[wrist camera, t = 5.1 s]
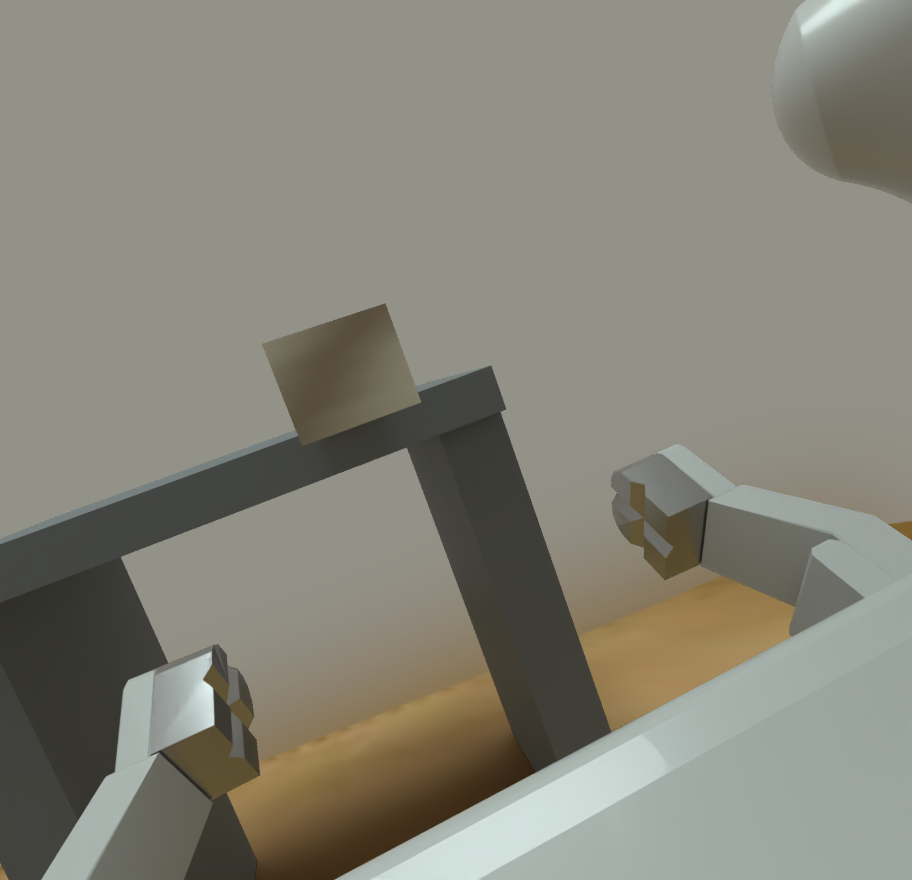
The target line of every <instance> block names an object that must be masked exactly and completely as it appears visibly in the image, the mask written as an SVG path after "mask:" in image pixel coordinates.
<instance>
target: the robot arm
mask: <svg viewBox="0 0 912 880" xmlns="http://www.w3.org/2000/svg"><path fill="white" fill-rule="evenodd" d="M772 98H773V106H774V113H775V117H776V120H777V124H778V127H779V129H780V131H781V133H782V135H783V138H784V140H785V141H786V143H787V144H788V146H789V147H790V149H791V150H792V151H793V152H794V153H795V154H796V156H797V157H799V159H800V160H802V161H803V162H804V163H805V164H806V165H808V166H809V167H811V168H812V169H814V170H815V171H817V172H819V173H821V174H823V175H825V176H827V177H830V178H833V179H836V180H839V181H843V182H848V183H854V184H859V185H863V186H867V187H871V188H874V189H878V190H882V191H884V192H887V193H889V194H892V195H895V196H897V197H899V198H901V199H904V200H906V201H908V202H910V203H912V0H806V1H804V3H802V4H801V5H800V6H799V7H798V8H797V9H796V10H795V12H794V14H793V16H792V18H791V20H790V22H789V24H788V26H787V29H786V31H785V34H784V36H783V38H782V41H781V44H780V47H779V50H778V53H777V57H776V62H775V67H774V73H773V83H772ZM611 482H612V483H611V484H612V485H611V486H612V488H613V489H614V490H615V491H616V492H617V494H616V496H615V498H614V500H613V502H612V511H613V516H614V519H615V521H616V524H617V526H618V528H619V529H620V531H621V533H622V534H623V535H624V537H625V538H626V539H627V540H628V541H629V542H630V543H631V544H634V545H637V546H640V547H644V559H645V560H646V561H647V562H648V563H649V564H650V565H651V566H652V567H653V568H654V569H655V570H656V571H657V572H658V573H659V574H660V576H661V577H662V578H663V579H664V580H666V579H669V578H671V577H673V576H675V575H678V574H680V573H682V572H684V571H687V570H689V569H691V568H693V567H696V566H698V565H700V564H701V566H702V567H704V568H706V569H709V570H711V571H713V572H716V573H718V574H720V575H722V576H725V577H727V578H729V579H732V580H734V581H736V582H739V583H741V584H743V585H746V586H748V587H750V588H752V589H755V590H757V591H759V592H762V593H764V594H766V595H769V596H771V597H773V598H776V599H778V600H780V601H783V602H785V603H787V604H790V605H792V606H794V607H795V609H794V613H793V616H792V620H791V623H790V630H789V634H790V635H791V636H792V637H790V638H789V639H787V640H785V641H783V642H781V643H779V644H777V645H775V646H774V647H772V648H770V649H768V650H766V651H764V652H762V653H760V654H758V655H757V656H755V657H753V658H751V659H749V660H747V661H745V662H743V663H742V664H740V665H738V666H736V667H734V668H732V669H730V670H728V671H726V672H725V673H723V674H721V675H719V676H717V677H715V678H713V679H711V680H709V681H708V682H706V683H704V684H702V685H700V686H698V687H696V688H694V689H692V690H691V691H689V692H687V693H685V694H683V695H681V696H679V697H677V698H675V699H674V700H672V701H670V702H668V703H666V704H664V705H662V706H660V707H659V708H657V709H655V710H653V711H651V712H649V713H647V714H645V715H643V716H642V717H640V718H638V719H636V720H634V721H632V722H630V723H628V724H626V725H625V726H623V727H621V728H619V729H617V730H615V731H613V732H611V733H609V734H608V735H606V736H604V737H602V738H600V739H598V740H596V741H594V742H593V743H591V744H589V745H587V746H585V747H583V748H581V749H579V750H577V751H576V752H574V753H572V754H570V755H568V756H566V757H564V758H562V759H560V760H559V761H557V762H555V763H553V764H551V765H549V766H547V767H545V768H544V769H542V770H540V771H538V772H536V773H534V774H532V775H530V776H528V777H527V778H525V779H523V780H521V781H519V782H517V783H515V784H513V785H512V786H510V787H508V788H506V789H504V790H502V791H500V792H498V793H496V794H495V795H493V796H491V797H489V798H487V799H485V800H483V801H481V802H480V803H478V804H476V805H474V806H472V807H470V808H468V809H466V810H464V811H463V812H461V813H459V814H457V815H455V816H453V817H451V818H449V819H448V820H446V821H444V822H442V823H440V824H438V825H436V826H434V827H433V828H431V829H429V830H427V831H425V832H423V833H421V834H419V835H417V836H416V837H414V838H412V839H410V840H408V841H406V842H404V843H402V844H401V845H399V846H397V847H395V848H393V849H391V850H389V851H387V852H385V853H384V854H382V855H380V856H378V857H376V858H374V859H372V860H370V861H369V862H367V863H365V864H363V865H361V866H359V867H357V868H355V869H353V870H352V871H350V872H348V873H346V874H344V875H342V876H340V877H338V878H337V879H335V880H912V541H911V540H910V539H908V538H907V537H905V536H904V535H902V534H901V533H899V532H898V531H896V530H895V529H893V528H892V527H890V526H889V525H887V524H886V523H884V522H883V521H881V520H880V519H878V518H877V517H875V516H873V515H870V514H865V513H861V512H857V511H852V510H848V509H844V508H840V507H835V506H831V505H827V504H823V503H819V502H814V501H810V500H806V499H802V498H798V497H794V496H789V495H785V494H781V493H777V492H772V491H768V490H764V489H760V488H756V487H751V486H747V485H741V486H738V487H736V486H735V485H734V484H732V483H731V482H730V481H728V480H727V479H725V478H724V477H723V476H722V475H720V474H719V473H718V472H716V471H715V470H714V469H712V468H711V467H710V466H709V465H707V464H706V463H705V462H703V461H702V460H701V459H700V458H698V457H697V456H696V455H694V454H693V453H692V452H690V451H689V450H688V449H686V448H685V447H684V446H681V445H678V444H676V445H674V446H672V447H669V448H667V449H665V450H663V451H660V452H658V453H656V454H653V455H651V456H648V457H646V458H644V459H642V460H639V461H637V462H635V463H633V464H630V465H628V466H626V467H624V468H621V469H619V470H617V471H615V472H614V473H613V475H612V477H611ZM253 718H254V712H253V704H252V699H251V696H250V692H249V689H248V686H247V684H246V682H245V680H244V678H243V676H242V675H241V673H240V672H239V670H238V669H237V668H234V667H230V666H227V654H226V653H225V652H224V651H223V650H222V648H220V646H219V645H213V646H210V647H207V648H205V649H203V650H200V651H198V652H195V653H193V654H190V655H188V656H185V657H183V658H180V659H178V660H175V661H173V662H170V663H168V664H165V665H163V666H160V667H158V668H157V669H154V670H152V671H149V672H147V673H144V674H142V675H139V676H137V677H135V678H132V679H130V680H128V682H127V683H126V685H125V687H124V690H123V697H122V707H121V717H120V726H119V736H118V746H117V756H116V765H115V772H114V773H112V774H110V775H108V776H106V777H105V779H104V780H103V782H102V783H101V785H100V787H99V788H98V790H97V791H96V793H95V795H94V796H93V798H92V799H91V801H90V803H89V804H88V806H87V807H86V809H85V811H84V812H83V814H82V815H81V817H80V819H79V820H78V822H77V823H76V825H75V827H74V828H73V830H72V831H71V833H70V835H69V836H68V838H67V839H66V841H65V843H64V844H63V846H62V847H61V849H60V851H59V852H58V854H57V855H56V857H55V859H54V860H53V862H52V863H51V865H50V867H49V868H48V870H47V871H46V873H45V875H44V876H43V878H42V879H41V880H184V878H185V875H186V872H187V870H188V867H189V865H190V862H191V859H192V857H193V854H194V851H195V849H196V846H197V844H198V841H199V838H200V836H201V833H202V831H203V828H204V825H205V823H206V820H207V817H208V815H209V812H210V810H211V807H212V804H213V802H212V801H211V800H213V799H215V798H217V797H219V796H221V795H223V794H225V793H227V792H229V791H231V790H233V789H235V788H237V787H239V786H240V785H242V784H244V783H246V782H248V781H250V780H252V779H254V778H256V777H258V776H260V770H259V760H258V751H257V740H256V739H255V738H254V736H253V735H252V734H251V732H250V731H249V730H248V728H249V726H250V724H251V722H252V720H253Z"/></svg>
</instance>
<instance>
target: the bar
mask: <svg viewBox="0 0 912 880" xmlns="http://www.w3.org/2000/svg"><path fill="white" fill-rule="evenodd" d="M262 345H263V348H264V350H265V353H266V356H267V358H268V361H269V363H270V366H271V368H272V371H273V373H274V376H275V378H276V381H277V384H278V386H279V389H280V391H281V394H282V396H283V399H284V401H285V404H286V406H287V409H288V411H289V414H290V417H291V419H292V422H293V424H294V427H295V429H296V432H297V434H298V437H299V439H300V442H301V444H302V446H304V445H307V444H310V443H312V442H315V441H318V440H320V439H323V438H326V437H329V436H331V435H334V434H337V433H339V432H342V431H345V430H348V429H350V428H353V427H356V426H359V425H361V424H364V423H367V422H369V421H372V420H375V419H378V418H380V417H383V416H386V415H388V414H391V413H394V412H397V411H399V410H402V409H405V408H407V407H410V406H413V405H416V404H418V403H421V400H420V397H419V395H418V392H417V389H416V386H415V383H414V381H413V378H412V375H411V372H410V370H409V367H408V364H407V361H406V359H405V356H404V353H403V350H402V348H401V345H400V342H399V339H398V337H397V334H396V331H395V328H394V326H393V323H392V320H391V318H390V315H389V312H388V309H387V306H386V304H382V305H379V306H376V307H373V308H370V309H367V310H364V311H361V312H358V313H355V314H352V315H349V316H346V317H343V318H339V319H337V320H333V321H330V322H327V323H324V324H321V325H318V326H315V327H312V328H309V329H306V330H303V331H300V332H297V333H294V334H291V335H288V336H285V337H282V338H279V339H276V340H273V341H269V342H266V343H263V344H262Z"/></svg>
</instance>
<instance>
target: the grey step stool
mask: <svg viewBox="0 0 912 880" xmlns="http://www.w3.org/2000/svg"><path fill="white" fill-rule="evenodd" d="M416 389H417V392H418V395H419V397H420V400H421V403H418V404H416V405H413V406H410V407H407V408H405V409H402V410H399V411H397V412H394V413H391V414H388V415H386V416H383V417H380V418H378V419H375V420H372V421H369V422H367V423H364V424H361V425H359V426H356V427H353V428H350V429H348V430H345V431H342V432H339V433H337V434H334V435H331V436H329V437H326V438H323V439H320V440H318V441H315V442H312V443H310V444H307V445H304V446H302V444H301V442H300V439H299V437H298V434H297V432H296V430H295V431H292V432H289V433H286V434H284V435H281V436H278V437H275V438H272V439H270V440H267V441H264V442H262V443H259V444H256V445H253V446H250V447H248V448H245V449H242V450H240V451H237V452H234V453H231V454H228V455H225V456H223V457H220V458H217V459H215V460H212V461H209V462H206V463H203V464H201V465H198V466H195V467H192V468H190V469H187V470H184V471H181V472H178V473H176V474H173V475H170V476H168V477H165V478H162V479H160V480H157V481H154V482H151V483H148V484H145V485H143V486H140V487H137V488H135V489H131V490H129V491H126V492H124V493H121V494H118V495H115V496H112V497H109V498H107V499H104V500H101V501H99V502H96V503H93V504H90V505H87V506H85V507H82V508H79V509H76V510H73V511H71V512H68V513H65V514H63V515H60V516H57V517H54V518H51V519H49V520H46V521H44V522H42V523H39V524H37V525H34V526H31V527H29V528H26V529H24V530H21V531H19V532H16V533H14V534H11V535H9V536H6V537H4V538H1V539H0V863H1V865H2V867H3V869H4V871H5V873H6V875H7V877H8V879H9V880H41V879H42V878H43V876H44V875H45V873H46V871H47V870H48V868H49V867H50V865H51V863H52V862H53V860H54V859H55V857H56V855H57V854H58V852H59V851H60V849H61V847H62V846H63V844H64V843H65V841H66V839H67V838H68V836H69V835H70V833H71V831H72V830H73V828H74V827H75V825H76V823H77V822H78V820H79V819H80V817H81V815H82V814H83V812H84V811H85V809H86V807H87V806H88V804H89V803H90V801H91V799H92V798H93V796H94V795H95V793H96V791H97V790H98V788H99V787H100V785H101V783H102V782H103V780H104V779H105V777H106V776H108V775H110V774H112V773H114V772H115V765H116V756H117V746H118V736H119V726H120V717H121V707H122V697H123V690H124V687H125V685H126V683H127V682H128V680H130V679H132V678H135V677H137V676H139V675H142V674H144V673H147V672H149V671H152V670H154V669H157V668H158V667H160V666H163V665H165V664H168V662H167V659H166V657H165V655H164V653H163V651H162V649H161V646H160V644H159V642H158V639H157V637H156V635H155V633H154V630H153V628H152V626H151V624H150V621H149V619H148V617H147V615H146V613H145V611H144V608H143V606H142V604H141V602H140V599H139V597H138V595H137V593H136V590H135V588H134V586H133V584H132V582H131V579H130V577H129V575H128V573H127V570H126V568H125V566H124V564H123V561H122V559H121V556H124V555H127V554H129V553H131V552H134V551H137V550H140V549H142V548H145V547H147V546H150V545H153V544H155V543H158V542H161V541H163V540H166V539H168V538H171V537H174V536H176V535H179V534H181V533H184V532H187V531H189V530H192V529H195V528H197V527H200V526H202V525H205V524H208V523H210V522H213V521H215V520H218V519H221V518H223V517H226V516H229V515H231V514H234V513H236V512H239V511H242V510H244V509H247V508H249V507H252V506H255V505H257V504H260V503H263V502H265V501H267V500H270V499H273V498H276V497H278V496H281V495H283V494H286V493H289V492H291V491H294V490H296V489H299V488H302V487H304V486H307V485H310V484H312V483H315V482H318V481H320V480H323V479H325V478H328V477H331V476H333V475H336V474H338V473H341V472H344V471H346V470H349V469H352V468H354V467H357V466H359V465H362V464H365V463H367V462H370V461H373V460H375V459H377V458H380V457H383V456H386V455H388V454H391V453H393V452H396V451H398V450H401V449H404V448H407V449H408V452H409V454H410V457H411V460H412V462H413V465H414V468H415V471H416V473H417V476H418V479H419V481H420V484H421V487H422V490H423V492H424V495H425V498H426V500H427V503H428V506H429V508H430V511H431V514H432V516H433V519H434V522H435V525H436V527H437V530H438V533H439V535H440V538H441V541H442V543H443V546H444V549H445V552H446V554H447V557H448V559H449V562H450V565H451V568H452V571H453V573H454V576H455V579H456V581H457V584H458V587H459V589H460V592H461V595H462V598H463V600H464V603H465V606H466V608H467V611H468V614H469V616H470V619H471V622H472V625H473V627H474V630H475V633H476V635H477V638H478V641H479V643H480V646H481V649H482V652H483V654H484V657H485V659H486V662H487V665H488V668H489V670H490V673H491V676H492V679H493V681H494V684H495V687H496V689H497V692H498V695H499V697H500V700H501V703H502V706H503V708H504V711H505V714H506V716H507V719H508V722H509V724H510V727H511V730H512V732H513V734H514V736H515V738H516V740H517V741H518V743H519V745H520V746H521V748H522V750H523V752H524V753H525V755H526V757H527V758H528V760H529V762H530V764H531V765H532V767H533V769H534V770H535V772H538V771H540V770H542V769H544V768H545V767H547V766H549V765H551V764H553V763H555V762H557V761H559V760H560V759H562V758H564V757H566V756H568V755H570V754H572V753H574V752H576V751H577V750H579V749H581V748H583V747H585V746H587V745H589V744H591V743H593V742H594V741H596V740H598V739H600V738H602V737H604V736H606V735H608V734H609V733H611V730H610V728H609V725H608V722H607V719H606V716H605V713H604V710H603V707H602V704H601V701H600V699H599V696H598V693H597V690H596V687H595V684H594V681H593V678H592V675H591V673H590V670H589V667H588V664H587V661H586V658H585V655H584V652H583V649H582V647H581V644H580V641H579V638H578V635H577V632H576V629H575V626H574V623H573V620H572V618H571V615H570V612H569V609H568V606H567V603H566V600H565V597H564V595H563V592H562V589H561V586H560V583H559V580H558V577H557V574H556V571H555V568H554V566H553V563H552V560H551V557H550V554H549V551H548V549H547V546H546V542H545V540H544V537H543V534H542V531H541V528H540V525H539V522H538V519H537V517H536V513H535V511H534V508H533V505H532V502H531V499H530V496H529V493H528V490H527V488H526V485H525V482H524V479H523V476H522V473H521V470H520V467H519V464H518V461H517V459H516V456H515V453H514V450H513V447H512V444H511V441H510V438H509V436H508V433H507V430H506V427H505V424H504V421H503V418H502V415H501V411H503V410H506V407H505V404H504V401H503V398H502V395H501V392H500V390H499V387H498V384H497V381H496V378H495V375H494V372H493V370H492V366H488V367H484V368H480V369H477V370H473V371H469V372H466V373H461V374H458V375H454V376H450V377H446V378H442V379H439V380H435V381H431V382H427V383H425V384H422V385H419V386H416ZM211 801H212V802H213V804H212V807H211V810H210V812H209V815H208V817H207V820H206V823H205V825H204V828H203V831H202V833H201V836H200V838H199V841H198V844H197V846H196V849H195V851H194V854H193V857H192V859H191V862H190V865H189V867H188V870H187V872H186V875H185V878H184V880H254V879H255V872H256V866H257V860H256V858H255V855H254V853H253V851H252V849H251V846H250V844H249V842H248V840H247V838H246V835H245V833H244V831H243V829H242V826H241V824H240V822H239V820H238V817H237V815H236V813H235V811H234V809H233V806H232V804H231V802H230V800H229V797H228V795H227V793H225V794H223V795H221V796H219V797H217V798H215V799H213V800H211Z"/></svg>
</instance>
